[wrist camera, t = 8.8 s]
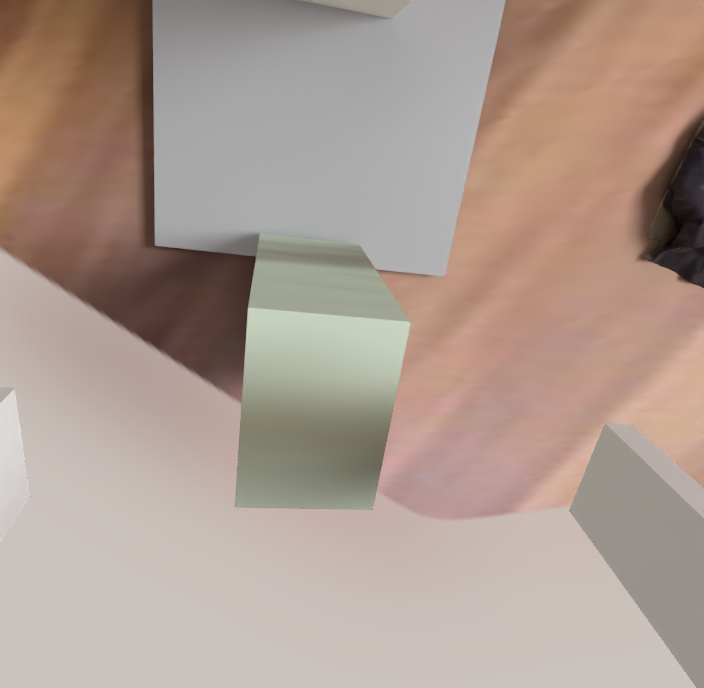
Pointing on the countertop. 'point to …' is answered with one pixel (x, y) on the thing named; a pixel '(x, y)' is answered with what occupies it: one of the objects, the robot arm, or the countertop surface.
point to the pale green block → (317, 376)
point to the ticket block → (318, 122)
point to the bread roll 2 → (683, 217)
